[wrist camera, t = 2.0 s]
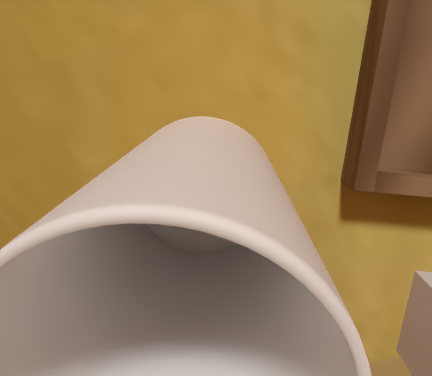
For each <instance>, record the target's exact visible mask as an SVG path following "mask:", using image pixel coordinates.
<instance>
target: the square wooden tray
mask: <svg viewBox="0 0 432 376" xmlns="http://www.w3.org/2000/svg"><path fill="white" fill-rule="evenodd" d="M341 180H342V181H343V182H344V183H346V184H347V185H348V186H349V187H350V188H351V189H352V190H354V191H364V192H376V193H387V194H399V195H410V196H422V197H432V0H372V3H371V9H370V15H369V21H368V26H367V32H366V38H365V44H364V50H363V55H362V61H361V67H360V73H359V78H358V84H357V90H356V96H355V102H354V107H353V113H352V119H351V125H350V130H349V136H348V142H347V148H346V154H345V159H344V165H343V171H342V177H341Z"/></svg>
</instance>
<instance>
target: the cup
mask: <svg viewBox="0 0 432 376" xmlns="http://www.w3.org/2000/svg"><path fill="white" fill-rule="evenodd" d="M0 376H372V375H371V371H370V366H369V362H368V359H367V356H366V353H365V350H364V347H363V345H362V342H361V339H360V336H359V333H358V331H357V329H356V327H355V325H354V322H353V320H352V318H351V316H350V314H349V312H348V310H347V308H346V307H345V305H344V303H343V301H342V299H341V297H340V295H339V293H338V291H337V289H336V287H335V285H334V283H333V281H332V279H331V277H330V276H329V274H328V272H327V270H326V268H325V266H324V264H323V262H322V260H321V258H320V256H319V254H318V252H317V250H316V249H315V247H314V245H313V243H312V241H311V239H310V237H309V235H308V233H307V231H306V229H305V227H304V226H303V224H302V222H301V220H300V218H299V216H298V214H297V212H296V210H295V208H294V206H293V205H292V203H291V201H290V199H289V197H288V195H287V193H286V191H285V189H284V187H283V185H282V183H281V182H280V180H279V178H278V176H277V174H276V172H275V170H274V168H273V166H272V164H271V162H270V161H269V159H268V157H267V155H266V153H265V151H264V150H263V148H262V147H261V146H260V144H259V143H258V142H257V141H256V140H255V139H254V138H253V137H252V136H251V135H250V134H249V133H248V132H247V131H245V130H244V129H242V128H241V127H239V126H237V125H235V124H233V123H231V122H229V121H226V120H223V119H219V118H214V117H190V118H184V119H181V120H178V121H175V122H173V123H170V124H168V125H166V126H165V127H163V128H162V129H160V130H159V131H157V132H156V133H155V134H153V135H152V136H150V137H149V138H148V139H146V140H145V141H144V142H142V143H141V144H140V145H138V146H137V147H136V148H134V149H133V150H132V151H130V152H129V153H128V154H126V155H125V156H124V157H122V158H121V159H120V160H118V161H117V162H116V163H114V164H113V165H112V166H110V167H109V168H108V169H106V170H105V171H104V172H102V173H101V174H100V175H98V176H97V177H96V178H94V179H93V180H92V181H90V182H89V183H88V184H86V185H85V186H84V187H82V188H81V189H80V190H78V191H77V192H76V193H74V194H73V195H72V196H70V197H69V198H68V199H66V200H65V201H64V202H62V203H61V204H60V205H58V206H57V207H56V208H54V209H53V210H52V211H50V212H49V213H48V214H46V215H45V216H44V217H42V218H41V219H40V220H38V221H37V222H36V223H34V224H33V225H32V226H30V227H29V228H28V229H26V230H25V231H24V232H22V233H21V234H20V235H18V236H17V237H16V238H14V239H13V240H12V241H11V242H9V243H8V244H7V245H5V246H4V247H3V248H2V249H1V250H0Z"/></svg>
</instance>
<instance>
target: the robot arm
mask: <svg viewBox="0 0 432 376" xmlns="http://www.w3.org/2000/svg"><path fill="white" fill-rule="evenodd" d="M397 351H398V353H399V355H400V356H401V358H402V360H403V361H404V363H405V365H406V366H407V368H408V370H409V371H410V373H411V374H412V376H432V272H423V271H415V274H414V278H413V282H412V286H411V291H410V295H409V299H408V303H407V307H406V312H405V316H404V320H403V324H402V329H401V333H400V337H399V341H398V345H397Z"/></svg>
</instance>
